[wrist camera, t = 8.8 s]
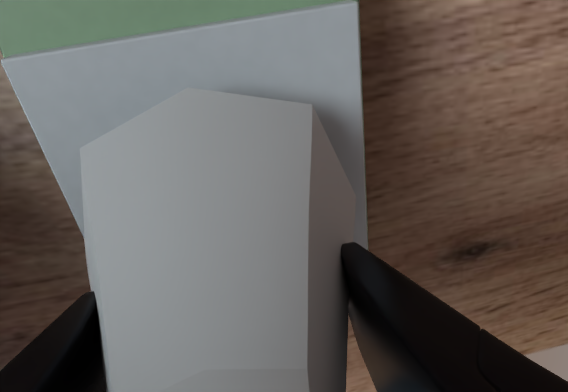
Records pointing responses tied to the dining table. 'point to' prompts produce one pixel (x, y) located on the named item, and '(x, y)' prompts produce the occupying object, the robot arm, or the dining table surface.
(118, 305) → the flask
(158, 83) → the kitchen scale
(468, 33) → the dining table surface
